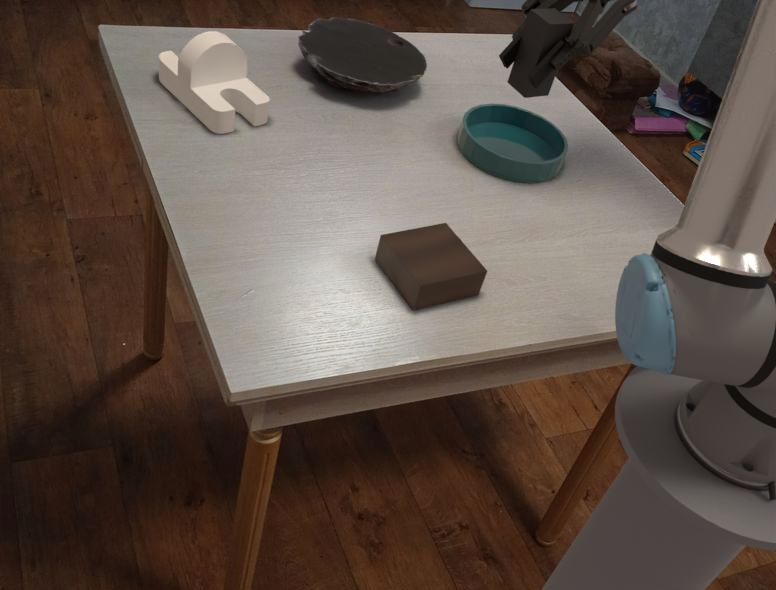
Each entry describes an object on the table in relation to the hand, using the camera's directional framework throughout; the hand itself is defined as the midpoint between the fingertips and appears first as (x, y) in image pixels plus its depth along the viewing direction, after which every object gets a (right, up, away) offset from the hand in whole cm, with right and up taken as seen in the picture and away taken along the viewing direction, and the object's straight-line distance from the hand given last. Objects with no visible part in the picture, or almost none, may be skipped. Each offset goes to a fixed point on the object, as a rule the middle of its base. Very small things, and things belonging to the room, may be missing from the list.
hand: (517, 71), depth 117 cm
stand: (-13, -30, -11) cm, 35 cm away
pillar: (+2, -1, +4) cm, 5 cm away
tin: (+1, -7, +16) cm, 18 cm away
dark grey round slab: (-23, +7, +24) cm, 34 cm away
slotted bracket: (-45, -1, +9) cm, 46 cm away
